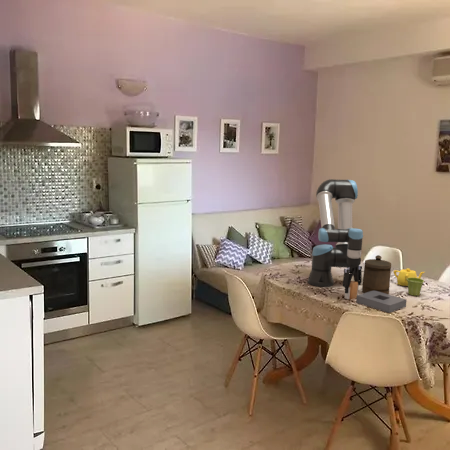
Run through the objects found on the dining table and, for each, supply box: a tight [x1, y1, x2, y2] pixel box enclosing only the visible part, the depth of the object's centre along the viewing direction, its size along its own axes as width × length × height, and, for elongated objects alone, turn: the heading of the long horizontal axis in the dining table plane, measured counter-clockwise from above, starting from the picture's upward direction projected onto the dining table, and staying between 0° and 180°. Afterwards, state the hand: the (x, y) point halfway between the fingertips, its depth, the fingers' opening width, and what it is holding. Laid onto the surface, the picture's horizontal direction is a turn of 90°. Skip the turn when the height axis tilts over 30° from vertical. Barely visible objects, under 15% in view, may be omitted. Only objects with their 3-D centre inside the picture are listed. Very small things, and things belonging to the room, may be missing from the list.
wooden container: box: [361, 255, 392, 295], centre depth 295 cm, size 15×15×22 cm
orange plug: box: [348, 279, 359, 300], centre depth 286 cm, size 4×4×9 cm
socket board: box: [355, 290, 408, 314], centre depth 275 cm, size 20×16×4 cm
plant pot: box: [407, 278, 425, 297], centre depth 295 cm, size 9×9×9 cm
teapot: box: [393, 268, 425, 287], centre depth 313 cm, size 14×13×10 cm
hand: (351, 297), depth 286 cm, fingers open, 7 cm apart
